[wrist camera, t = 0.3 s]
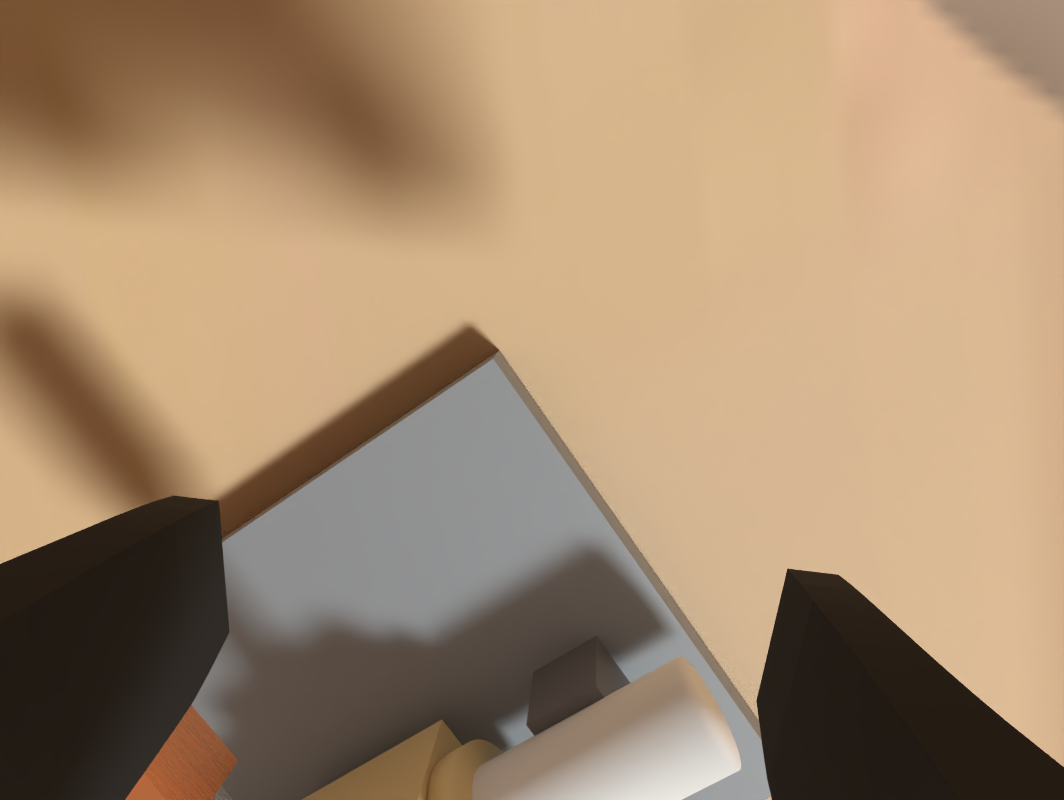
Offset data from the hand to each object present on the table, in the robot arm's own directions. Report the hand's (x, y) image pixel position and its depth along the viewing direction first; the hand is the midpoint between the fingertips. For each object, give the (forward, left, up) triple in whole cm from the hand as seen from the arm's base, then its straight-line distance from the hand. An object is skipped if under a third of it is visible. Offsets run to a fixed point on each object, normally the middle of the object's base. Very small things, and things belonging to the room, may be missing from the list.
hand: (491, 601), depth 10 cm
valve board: (-9, -5, -10) cm, 15 cm away
